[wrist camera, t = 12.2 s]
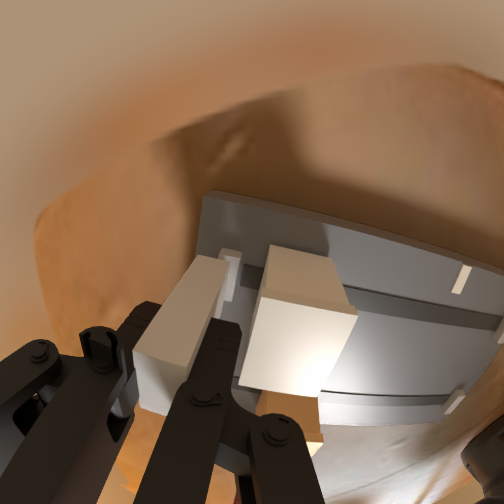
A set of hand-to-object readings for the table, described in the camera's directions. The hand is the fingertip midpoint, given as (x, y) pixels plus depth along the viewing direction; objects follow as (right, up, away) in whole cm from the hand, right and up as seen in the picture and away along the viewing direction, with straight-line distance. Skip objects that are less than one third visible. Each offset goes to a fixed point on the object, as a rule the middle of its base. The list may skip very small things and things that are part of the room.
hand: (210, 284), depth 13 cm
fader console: (+10, -5, +4) cm, 12 cm away
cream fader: (+4, 0, +1) cm, 4 cm away
